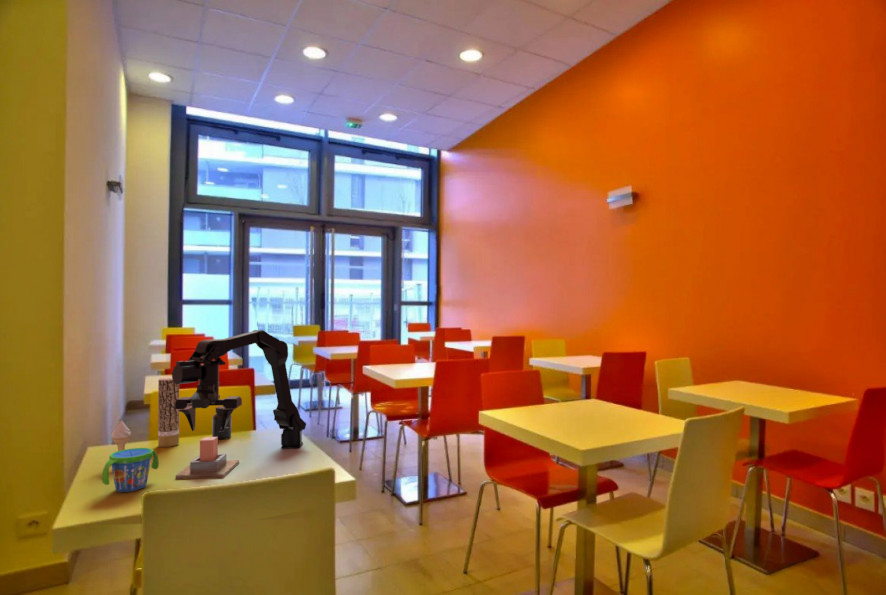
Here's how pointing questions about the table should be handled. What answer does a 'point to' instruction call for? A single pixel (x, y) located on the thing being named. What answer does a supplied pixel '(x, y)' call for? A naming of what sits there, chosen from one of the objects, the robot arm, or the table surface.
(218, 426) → the supplement bottle
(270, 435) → the table surface
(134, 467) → the snack cup
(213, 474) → the square socket base
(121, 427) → the ice cream cone
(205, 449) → the red post
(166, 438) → the paper tube
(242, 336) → the robot arm
